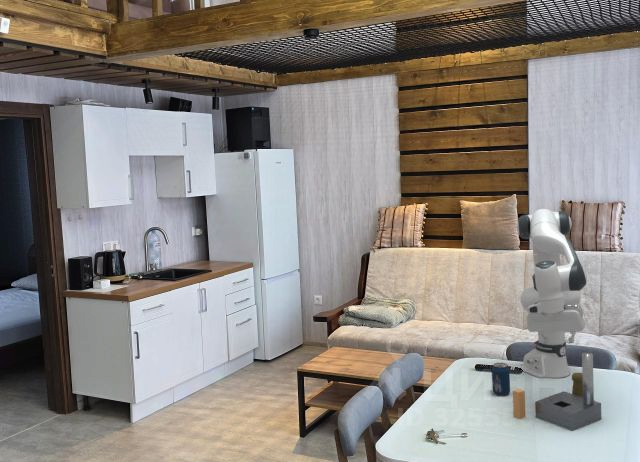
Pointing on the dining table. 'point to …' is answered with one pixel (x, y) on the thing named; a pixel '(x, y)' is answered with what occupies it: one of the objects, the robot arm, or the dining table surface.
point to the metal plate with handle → (572, 403)
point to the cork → (577, 384)
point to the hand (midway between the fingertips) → (558, 342)
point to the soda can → (500, 379)
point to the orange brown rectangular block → (519, 403)
